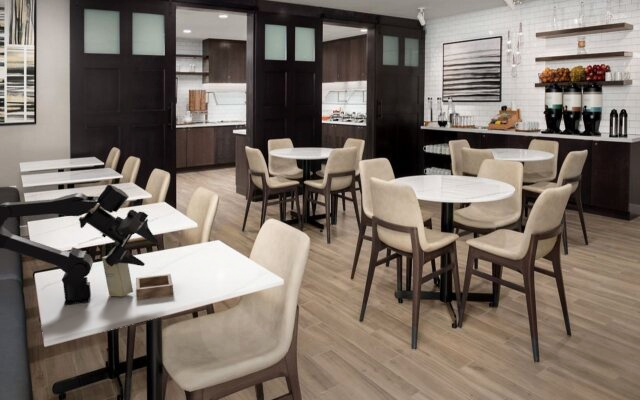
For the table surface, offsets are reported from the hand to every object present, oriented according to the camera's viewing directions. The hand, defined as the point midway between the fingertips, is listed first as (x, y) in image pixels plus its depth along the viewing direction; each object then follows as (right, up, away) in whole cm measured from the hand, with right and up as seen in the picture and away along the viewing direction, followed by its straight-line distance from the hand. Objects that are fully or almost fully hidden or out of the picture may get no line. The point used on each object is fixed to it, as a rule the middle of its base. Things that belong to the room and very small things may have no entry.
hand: (150, 253), depth 161 cm
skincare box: (-9, -12, -1) cm, 15 cm away
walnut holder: (0, -12, +2) cm, 12 cm away
